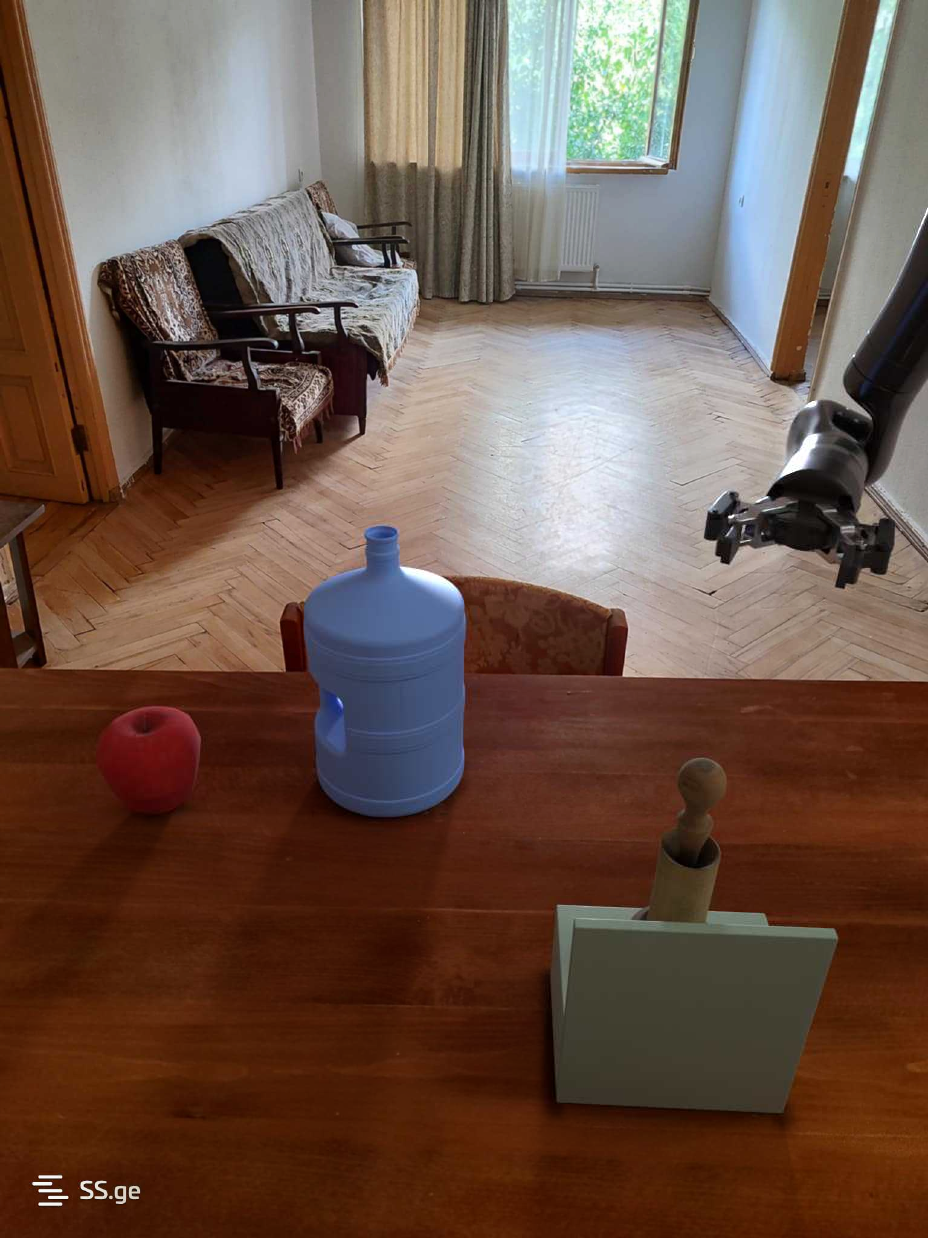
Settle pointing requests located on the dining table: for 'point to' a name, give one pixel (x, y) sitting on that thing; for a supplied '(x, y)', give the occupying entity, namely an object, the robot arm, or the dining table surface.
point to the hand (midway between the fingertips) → (783, 564)
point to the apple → (150, 758)
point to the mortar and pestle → (688, 850)
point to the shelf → (682, 1008)
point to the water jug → (387, 683)
